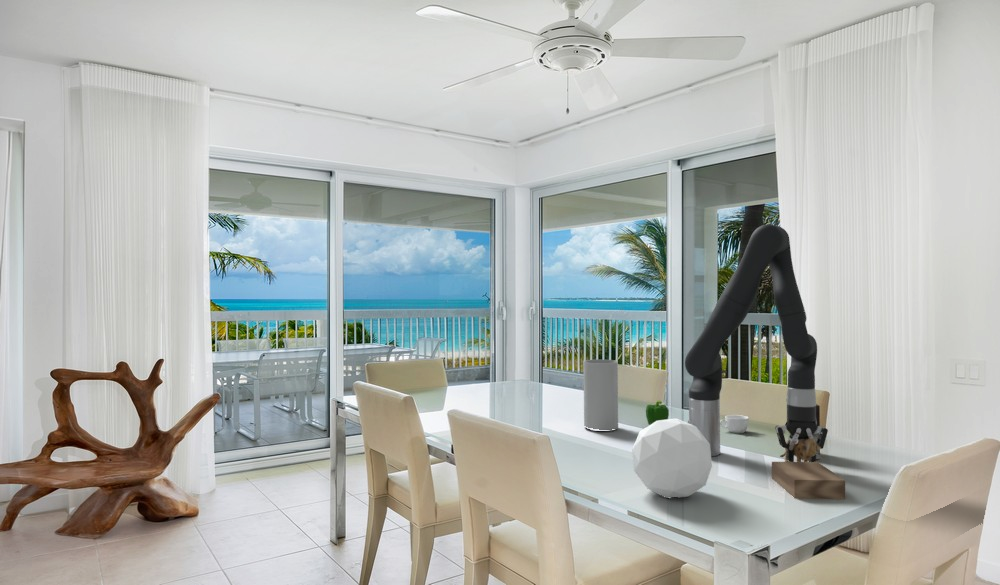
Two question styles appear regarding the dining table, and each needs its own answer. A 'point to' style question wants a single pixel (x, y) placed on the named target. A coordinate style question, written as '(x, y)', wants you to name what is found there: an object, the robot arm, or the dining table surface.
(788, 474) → the walnut block
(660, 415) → the bell pepper
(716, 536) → the dining table surface
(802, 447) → the lion figurine
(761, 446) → the dining table surface
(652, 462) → the ball
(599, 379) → the cylinder vase
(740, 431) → the teacup
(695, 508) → the dining table surface
